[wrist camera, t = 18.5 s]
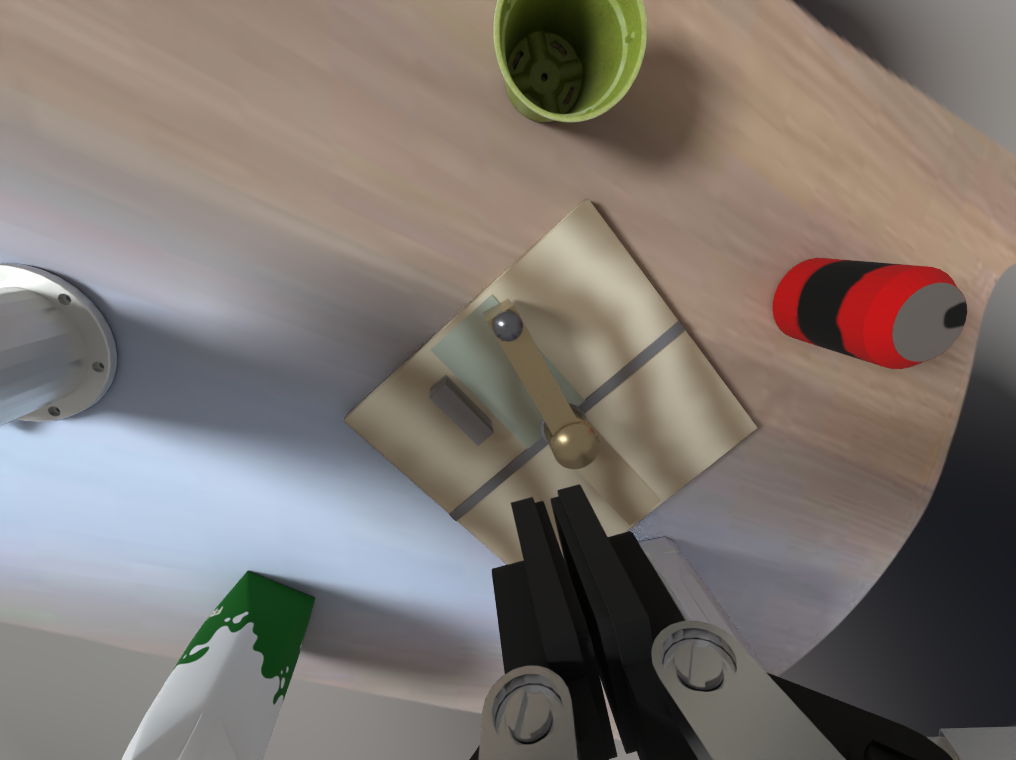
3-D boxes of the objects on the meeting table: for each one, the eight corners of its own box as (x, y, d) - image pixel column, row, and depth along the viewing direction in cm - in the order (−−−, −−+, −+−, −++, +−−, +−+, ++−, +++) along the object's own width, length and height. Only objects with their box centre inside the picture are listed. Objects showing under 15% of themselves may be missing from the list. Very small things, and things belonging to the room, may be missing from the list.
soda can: (845, 326, 46) (975, 358, 35) (772, 347, 46) (879, 386, 34) (844, 248, 44) (983, 255, 32) (766, 270, 43) (879, 285, 32)
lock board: (541, 589, 51) (548, 617, 48) (346, 415, 43) (336, 433, 39) (750, 423, 48) (776, 439, 44) (584, 199, 40) (598, 196, 36)
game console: (675, 532, 51) (808, 709, 32) (680, 712, 60) (786, 934, 41) (624, 542, 51) (727, 727, 32) (635, 722, 60) (722, 951, 41)
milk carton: (288, 654, 50) (190, 914, 31) (202, 623, 48) (41, 884, 29) (328, 594, 48) (251, 829, 29) (241, 558, 46) (97, 790, 27)
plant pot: (518, -24, 34) (540, -103, 26) (625, 51, 37) (676, 0, 28) (462, 104, 36) (466, 68, 28) (566, 167, 39) (598, 151, 30)
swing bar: (593, 434, 44) (609, 457, 40) (555, 454, 44) (568, 480, 40) (515, 292, 39) (524, 300, 35) (474, 316, 39) (477, 328, 35)
